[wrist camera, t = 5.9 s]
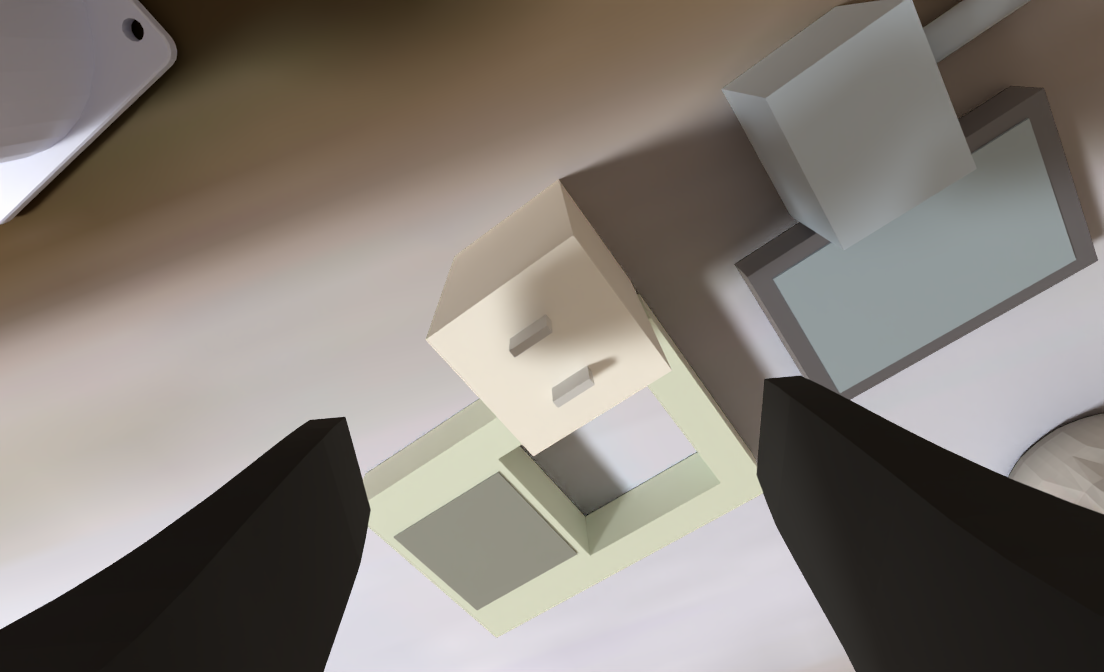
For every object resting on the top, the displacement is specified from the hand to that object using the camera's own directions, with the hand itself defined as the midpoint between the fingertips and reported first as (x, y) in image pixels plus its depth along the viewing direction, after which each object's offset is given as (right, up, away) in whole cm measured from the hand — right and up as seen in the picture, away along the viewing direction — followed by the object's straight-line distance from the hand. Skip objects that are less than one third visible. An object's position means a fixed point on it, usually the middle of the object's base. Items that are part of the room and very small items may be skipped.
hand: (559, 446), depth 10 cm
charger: (0, +4, +9) cm, 10 cm away
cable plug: (+9, +9, +6) cm, 15 cm away
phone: (+11, +5, +9) cm, 15 cm away
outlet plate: (0, -3, +12) cm, 12 cm away
